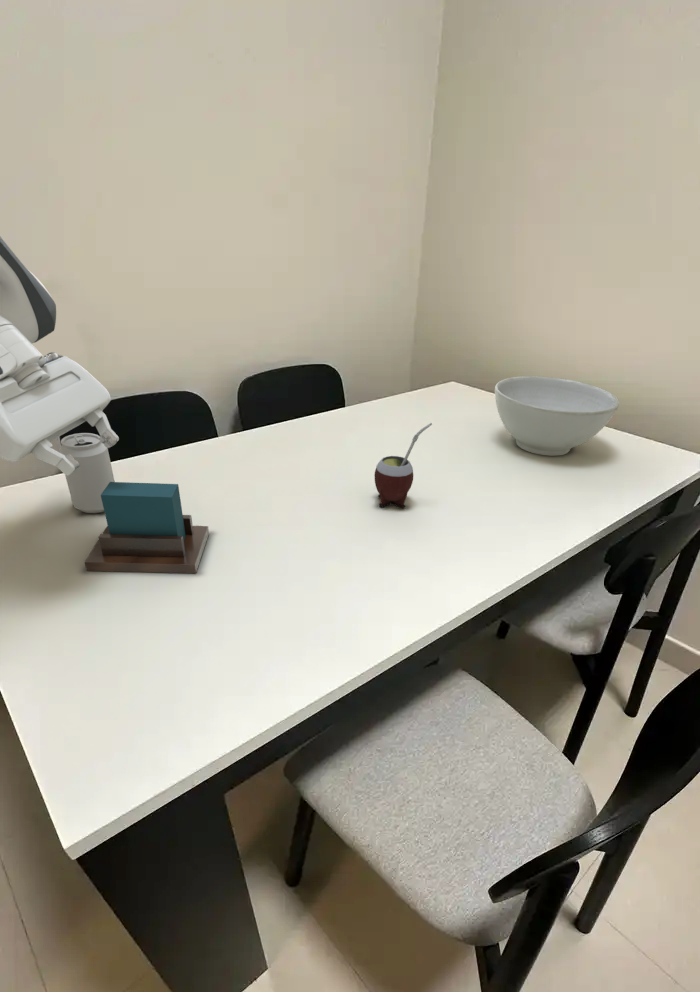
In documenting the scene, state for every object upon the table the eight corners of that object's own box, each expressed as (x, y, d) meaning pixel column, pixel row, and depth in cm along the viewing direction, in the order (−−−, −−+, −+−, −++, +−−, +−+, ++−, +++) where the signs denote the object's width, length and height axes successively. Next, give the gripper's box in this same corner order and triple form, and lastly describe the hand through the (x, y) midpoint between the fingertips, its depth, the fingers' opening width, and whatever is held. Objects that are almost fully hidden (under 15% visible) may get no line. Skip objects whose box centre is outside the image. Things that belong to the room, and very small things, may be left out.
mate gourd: (364, 501, 108) (370, 420, 99) (392, 489, 113) (400, 411, 104) (394, 515, 104) (403, 432, 95) (422, 502, 109) (433, 423, 100)
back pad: (113, 549, 88) (100, 494, 82) (121, 535, 91) (109, 481, 86) (180, 551, 88) (171, 497, 83) (185, 537, 92) (178, 483, 86)
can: (81, 519, 98) (63, 450, 91) (68, 502, 102) (50, 435, 95) (125, 508, 101) (111, 441, 94) (111, 492, 106) (96, 427, 99)
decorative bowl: (477, 423, 147) (487, 372, 139) (583, 429, 147) (598, 379, 139) (494, 464, 125) (506, 407, 118) (618, 472, 125) (638, 416, 118)
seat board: (86, 570, 86) (79, 544, 83) (110, 531, 95) (104, 506, 92) (196, 573, 86) (192, 547, 84) (209, 534, 96) (206, 509, 93)
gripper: (48, 364, 82) (123, 442, 87) (-64, 410, 67) (35, 502, 71) (69, 334, 79) (146, 416, 84) (-44, 375, 63) (59, 474, 68)
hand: (95, 456), depth 77 cm, fingers open, 8 cm apart
